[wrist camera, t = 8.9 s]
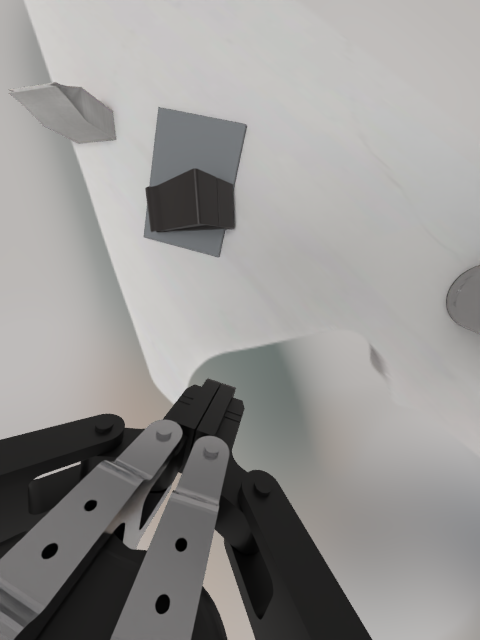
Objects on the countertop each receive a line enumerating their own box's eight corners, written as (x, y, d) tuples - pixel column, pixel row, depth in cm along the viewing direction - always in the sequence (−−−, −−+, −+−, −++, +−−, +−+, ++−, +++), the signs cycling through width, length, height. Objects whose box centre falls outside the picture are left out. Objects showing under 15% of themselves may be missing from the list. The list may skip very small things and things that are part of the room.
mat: (246, 126, 35) (245, 124, 34) (219, 257, 40) (218, 257, 40) (160, 109, 36) (158, 107, 36) (145, 237, 42) (143, 237, 41)
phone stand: (195, 167, 28) (123, 183, 34) (199, 224, 30) (130, 231, 35) (233, 184, 36) (169, 195, 42) (235, 228, 38) (173, 233, 43)
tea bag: (116, 139, 39) (58, 104, 29) (78, 143, 40) (12, 110, 31) (113, 111, 38) (52, 64, 28) (74, 116, 39) (4, 73, 30)
